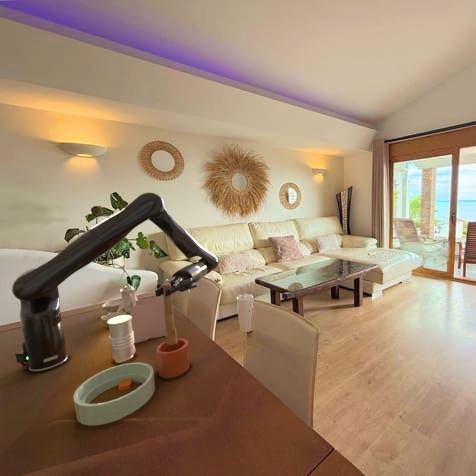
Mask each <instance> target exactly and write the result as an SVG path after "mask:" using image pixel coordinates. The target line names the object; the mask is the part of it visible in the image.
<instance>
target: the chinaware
mask: <svg viewBox="0 0 476 476" xmlns="http://www.w3.org/2000/svg"><path fill="white" fill-rule="evenodd" d="M119 292H120V293H121V294H120V295H121V300H120V299H115V300H112V301H106V302H104V303H103V304H101V305H100V306H101V308H103V309H104V311H105V312H106V313H107V314H105V315H101V316H100V320H101V321H102V322H103V324H104V325H105V326H107V327H109V324H108V323H107V322H108V320H110V319H112V318H114V317H117V316H122V315H130V312H129V307H133V306H136V301H139V299H138V298H137V293H136V292H137V287H136V286H132V285H130V284H129V283H126V284H125V285H124V287H123V288H121V289H119Z"/></svg>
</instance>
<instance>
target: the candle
mask: <svg viewBox="0 0 476 476" xmlns="http://www.w3.org/2000/svg"><path fill="white" fill-rule="evenodd" d="M131 318H132V317H131V316H130V315H122V316H117V317H114V318H112V319H110V320H108V322H107V323H108V324H109V326H108V331H109V337H108V340H109V348H110V349H109V350H110V351H111V358H112V360H114V362H115V363H119V364H120V363H123V362H126V361H128V360H131V359H132V358H133V357H134V355H135V353H136V351H137V350H136V347H135V343H134V342H135V341H134V334H133V333H134V332H133V330H132V324H131Z"/></svg>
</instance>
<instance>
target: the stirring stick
mask: <svg viewBox="0 0 476 476" xmlns="http://www.w3.org/2000/svg"><path fill="white" fill-rule="evenodd" d="M162 286H163V294H162V295H163V304H164V314H165V325H166V329H165V336H164V337H165V341H166V344H168V345H173V344H177V343H178V340H177V339H178V330H177V327H175V319H174V318H175V316H174V306H173V296H172V295H173V294H171V295H170V296H165V290H166V289H167V288H169V287H170V286H171V284H170V283H164V284H162Z"/></svg>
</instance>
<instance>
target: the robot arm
mask: <svg viewBox="0 0 476 476" xmlns="http://www.w3.org/2000/svg"><path fill="white" fill-rule="evenodd" d="M148 220H149V221H150V222H152V224H154V225H155V226H157V228H158V229H159V230H160V231H162V232H163V234H164V235H165V236H166V237H167V239H169V241H170V242H171V243H172V244H173V245H174V246H175V247H176V248H177V250H178V251H179V252H180V253H181V254H182V255H183V256H184V257H185V258H187V259H193V258H195V257H199V259H198V260H197V261H194V262H192V263H190V264H188V265H185V266H183V267H181V268H180V269H178V270H176V271H174V272H173V274H172V276H171V277H170V278H167V279H166V280H165V281H163V280H162V279H157V280H156V289H155V290H154V293H155V296H156V297H161V296H162V295H163V286H162V284H164V283H170V284H171V286H170V287H169V288H167V289H166V290H165V296H170V295H173V294H177V293H178V292H180V293H184V292H187V291H190V290H192V289H194V288H197V287H198V283H199V281H201V280H202V279H203V278H204V277H206V276H207V275H208V274H210V273H212V271H214V270H216V269H217V268H218V267H219V265H220V263H219V262H220V261H219V259H218V258H217V256H216V255H214V253H211V252H210V251H209V250H207V249H206V248H204V247H203V246H201V245H200V244H199V243H198V242H197V241H196V240H195V239H194V237H192V235H190V234H189V233H188V231H186V230H185V229H184V228H183V227H182V226H181V225H180V224H178V222H177V221H176V220H174V218H173V217H172V216H171V214H169V212H168V211H167V209H166V207H165V202H164V200H163V198H162V196H160V195H159V194H157V193H155V192H144V193H141V194H139V195H138V196H137V197H136V198H135V199H133V201H131V202H130V203H129V204H128V205H126V206H125V207H124V208H122V210H120V211H118V212H117V213H115V214H113V215H111V216H110V217H108V218H106V219H104V220H102V221H101V222H99V223H97V224H96V225H95V226H93V227H91V228H90V229H88V230H86V231H85V232H83V233H82V234H80V235H79V236H78V237H77V238H75V239H74V240H73V241H71V242H70V243H69V244H68V245H67V246H66V247H64V248H63V249H62V250H61V251H60V252H58V254H56V255H55V256H54V257H52V258H51V259H50V260H48V261H46V262H44V263H43V264H41V265H39V266H38V267H35V268H30V269H27V270H26V271H24V272H22V273H21V274H20V275H19V276H17V278H16V279H15V280H14V281H13V283H12V287H11V292H12V295H13V297H15V298H16V299H17V300H19V302H20V310H19V319H20V324H21V330H22V334H23V340H24V341H23V342H22V344H21V346H22V350H19V351H18V352H15V360H16V363H17V364H18V363H19V364H20V365H21V366H22V367H23V368H24V367H25V368H26V370H29V372H31V373H42V372H45V371H49V370H52V369H55V368H57V367H60V366H61V365H63V364H64V363H66V362H67V361H68V359H69V356H68V352H67V351H68V350H67V346H66V338H65V333H64V332H65V331H64V326H63V319H62V314H61V299H60V293H59V291H60V290H59V286H60V285H61V284H62V283H63V282H65V281H66V280H67V279H68V278H70V277H71V276H72V275H73V274H75V273H76V272H78V271H80V270H81V269H84V268H85V267H87V266H88V265H90V264H91V263H93V262H94V261H96V260H98V259H99V258H100V257H102V256H104V255H105V254H107V253H108V252H109V251H111V250H112V249H113V248H115V247H116V246H118V245H119V244H120V243H121V242H122V241H123V240H124V239H126V237H127V236H128V235H129V234H130V233H132V232H133V230H134V229H135V228H137V227H138V226H140V225H141V224H143V223H145V222H146V221H148Z"/></svg>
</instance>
